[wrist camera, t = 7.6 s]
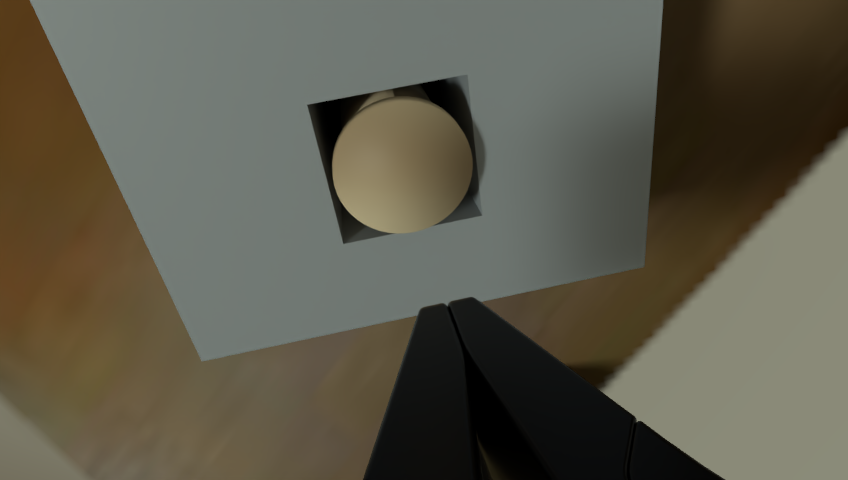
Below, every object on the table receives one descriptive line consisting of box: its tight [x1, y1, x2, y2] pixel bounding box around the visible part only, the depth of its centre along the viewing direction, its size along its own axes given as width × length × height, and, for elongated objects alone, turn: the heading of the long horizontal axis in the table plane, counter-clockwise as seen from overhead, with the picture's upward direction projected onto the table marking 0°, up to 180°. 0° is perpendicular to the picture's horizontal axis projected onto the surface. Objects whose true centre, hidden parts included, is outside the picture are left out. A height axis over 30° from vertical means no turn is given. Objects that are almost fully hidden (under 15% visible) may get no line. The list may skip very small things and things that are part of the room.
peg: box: [332, 83, 473, 234], centre depth 16 cm, size 4×4×6 cm
